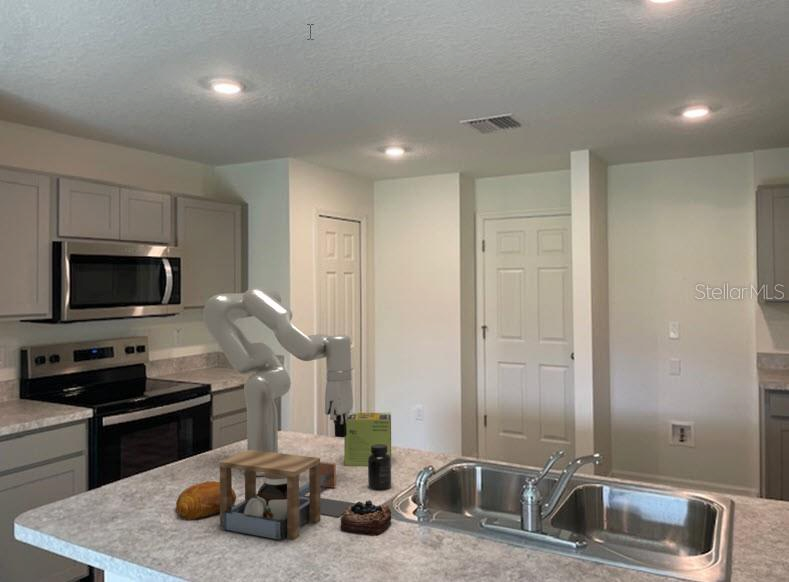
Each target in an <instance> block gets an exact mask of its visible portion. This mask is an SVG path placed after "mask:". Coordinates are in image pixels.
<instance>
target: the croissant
mask: <svg viewBox="0 0 789 582" xmlns="http://www.w3.org/2000/svg"><path fill="white" fill-rule="evenodd" d="M236 499H237V496H236V493H235V490H234V489H233V488H232V506H234V505H235V503H236ZM175 505H176V507H175V511H177V513H179V515H180V516H181V517H183V518H185V519H187V520H195V519H196V520H197V519H200V518H203V517H204V518H205V517H207V516H212V515H215V514H218V513H220V481H214V480H212V481H209V480H208V481H204V482H200V483H198V484H197V483H196V484H194V485H192V486H189V487H187V488H185V489H184V490H182V492H181V493H180V494H179V496H178V498H177V500H176V503H175Z"/></svg>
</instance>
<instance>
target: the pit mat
mask: <svg viewBox="0 0 789 582" xmlns="http://www.w3.org/2000/svg"><path fill="white" fill-rule="evenodd" d="M303 497H306V498H309V495H305V496H303ZM354 503H355V502H349V501H344V500H343V501H342V500H338V499H337V500H336V499H331V498H330V499H329V498H324V497H320V508H321V516H328V517H332V518H341V517H342V515H343V513H344V511H346V510H347V507H349V506H351V505H352V504H354Z"/></svg>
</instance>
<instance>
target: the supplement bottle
mask: <svg viewBox="0 0 789 582" xmlns="http://www.w3.org/2000/svg"><path fill="white" fill-rule="evenodd" d="M387 452H388V450H387V445H384V444H375V445H372V446H371V453H372V454H371V455H370V456H369V457H368V466H367V474H368V475H367V477H368V478H367V481H368V485H367V486H368V488H370V489H371V490H373V491H374V490H375V491H383V490H388V489H390V488H391V487H392V456H391V457H390V455H388V454H387Z"/></svg>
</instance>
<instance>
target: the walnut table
mask: <svg viewBox="0 0 789 582" xmlns="http://www.w3.org/2000/svg"><path fill="white" fill-rule="evenodd" d="M320 462H321V457H314V456H308V455H307V456H305V455H297V454H296V455H295V454H290V453H289V454H288V453H282V452H281V453H280V452H278V453H273V452H265V451H257V450H245V451H243V452H240V453H237V454H236V455H233V456H230V457H228V458H226V459H224V460H222V461H219V482H220V512H219V526H220V527H222V512H224V511H226V510H228V509H230V508H231V507H233V505H232V489H233V488H232V485H233V483H232V481H233V478H232V476H233V475H232V474H233V473H232V471H233V470H232V469H234V470H240V471H242V470H245V474H244V500H246V499H248V498H250V497H252V496H254V495H256V494H257V476H256V472H261V473H269V474H276V475H283V476H287V535H286V538H287V539H290V540H296V539H297V538H299V537H300V526H299V488H300V475H301V474H302V473H305V472H307V471H308V470H309V471H308V475H309V477H308V482H309V493H308V494H309V495H308V496H309V520H308V521H309V523H311V524H318V523H319V522H321V520H322V519H321V518H322V517H321V516H322V515H321V508H320V498H321V486H320Z"/></svg>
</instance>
